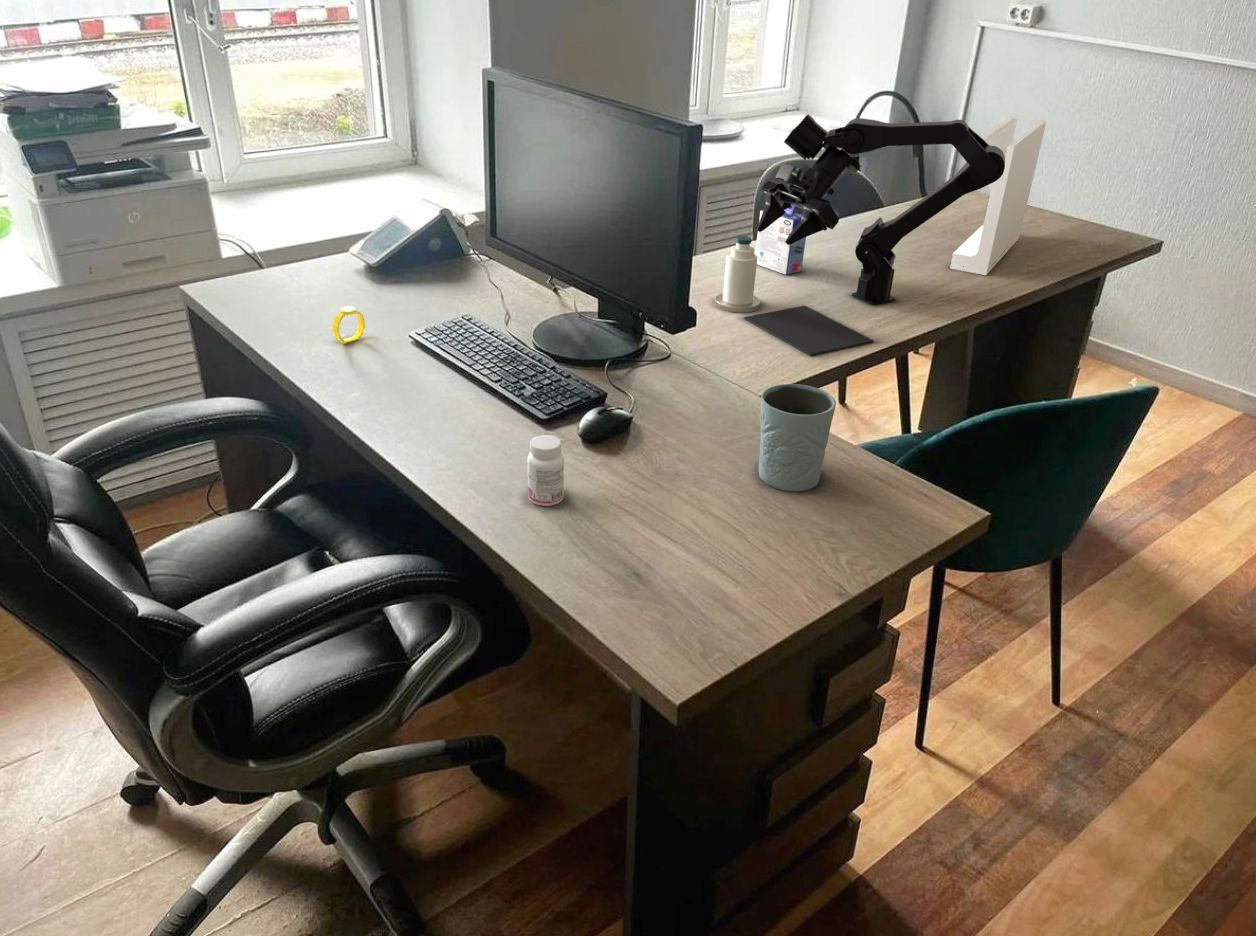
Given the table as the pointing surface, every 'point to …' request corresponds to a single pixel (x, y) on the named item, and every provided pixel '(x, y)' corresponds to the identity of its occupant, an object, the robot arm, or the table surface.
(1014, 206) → the white stand
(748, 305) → the off-white round coaster
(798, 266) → the ink cartridge box
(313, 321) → the table surface
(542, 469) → the pill bottle
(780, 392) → the light blue embossed cup
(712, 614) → the table surface
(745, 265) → the bottle
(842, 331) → the felt mat
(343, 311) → the yellow ring
